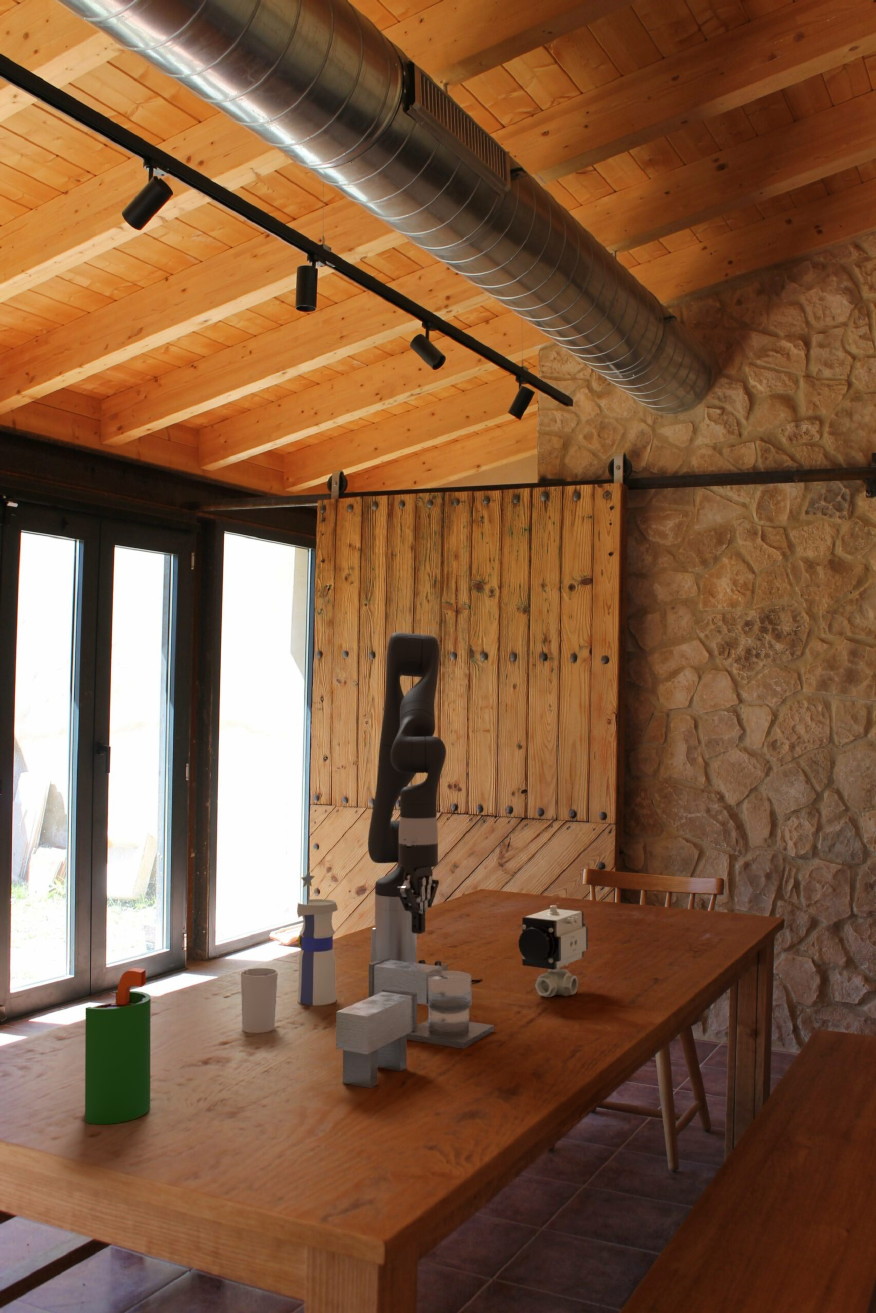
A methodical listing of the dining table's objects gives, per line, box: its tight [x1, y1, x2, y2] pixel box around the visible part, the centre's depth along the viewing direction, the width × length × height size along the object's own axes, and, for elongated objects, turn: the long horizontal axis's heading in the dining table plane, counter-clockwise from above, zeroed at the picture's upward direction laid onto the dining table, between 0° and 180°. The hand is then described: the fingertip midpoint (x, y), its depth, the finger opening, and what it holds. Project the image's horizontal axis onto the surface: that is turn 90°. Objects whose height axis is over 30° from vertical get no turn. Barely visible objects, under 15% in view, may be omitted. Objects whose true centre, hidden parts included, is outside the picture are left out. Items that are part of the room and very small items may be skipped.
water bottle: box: [296, 870, 338, 1006], centre depth 217 cm, size 8×9×25 cm
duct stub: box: [407, 1007, 495, 1049], centre depth 194 cm, size 12×12×5 cm
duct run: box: [335, 988, 418, 1089], centre depth 172 cm, size 15×6×11 cm, turn 152°
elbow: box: [368, 957, 472, 1010], centre depth 197 cm, size 19×8×6 cm, turn 62°
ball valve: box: [518, 904, 589, 998], centre depth 223 cm, size 18×8×18 cm, turn 148°
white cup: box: [240, 967, 278, 1034], centre depth 198 cm, size 7×7×10 cm
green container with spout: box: [84, 967, 152, 1125], centre depth 156 cm, size 10×9×20 cm
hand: (418, 932), depth 208 cm, fingers closed
